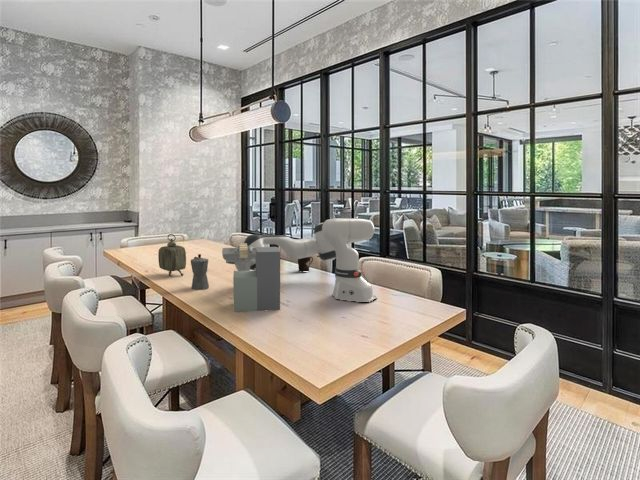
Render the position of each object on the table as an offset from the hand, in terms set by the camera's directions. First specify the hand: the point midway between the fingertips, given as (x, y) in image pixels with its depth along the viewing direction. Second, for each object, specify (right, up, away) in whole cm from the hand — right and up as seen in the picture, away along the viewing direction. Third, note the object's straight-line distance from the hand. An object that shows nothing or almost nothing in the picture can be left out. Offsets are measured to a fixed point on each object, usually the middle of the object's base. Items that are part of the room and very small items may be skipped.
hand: (243, 247), depth 190 cm
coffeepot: (-27, -22, +22) cm, 41 cm away
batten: (+1, -3, -6) cm, 7 cm away
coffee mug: (+28, -17, +67) cm, 74 cm away
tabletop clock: (-51, -18, +47) cm, 72 cm away
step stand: (+8, -27, -10) cm, 29 cm away
